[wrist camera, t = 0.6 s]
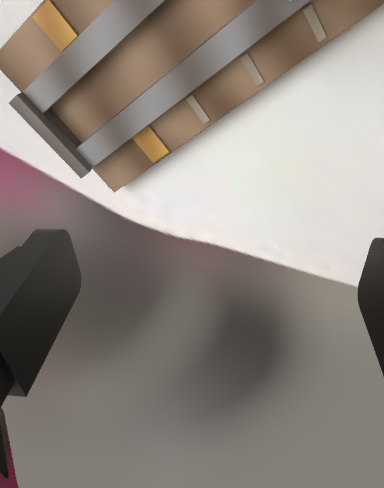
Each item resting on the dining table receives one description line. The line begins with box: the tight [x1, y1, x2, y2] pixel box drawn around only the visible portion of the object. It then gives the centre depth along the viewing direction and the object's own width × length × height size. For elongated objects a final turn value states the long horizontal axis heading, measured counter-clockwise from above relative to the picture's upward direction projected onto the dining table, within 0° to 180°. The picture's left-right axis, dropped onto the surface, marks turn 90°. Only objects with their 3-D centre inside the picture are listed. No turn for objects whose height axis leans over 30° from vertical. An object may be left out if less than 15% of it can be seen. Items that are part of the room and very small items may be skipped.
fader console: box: [0, 0, 384, 192], centre depth 26 cm, size 26×14×4 cm, turn 126°
